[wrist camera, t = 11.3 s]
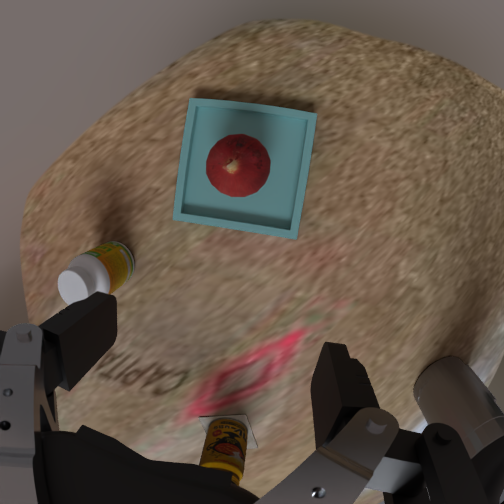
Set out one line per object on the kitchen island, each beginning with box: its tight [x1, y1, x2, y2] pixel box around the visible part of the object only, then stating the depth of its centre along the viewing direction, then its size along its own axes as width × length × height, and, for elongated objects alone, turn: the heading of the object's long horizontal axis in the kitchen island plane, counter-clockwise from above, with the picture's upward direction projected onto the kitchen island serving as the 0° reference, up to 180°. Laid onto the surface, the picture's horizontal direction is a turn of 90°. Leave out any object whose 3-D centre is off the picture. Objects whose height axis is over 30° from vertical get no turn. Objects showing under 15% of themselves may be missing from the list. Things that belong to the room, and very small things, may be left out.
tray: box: [173, 98, 317, 240], centre depth 30 cm, size 13×13×2 cm
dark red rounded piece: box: [206, 134, 271, 197], centre depth 26 cm, size 6×6×8 cm
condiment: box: [198, 415, 258, 486], centre depth 35 cm, size 7×8×12 cm
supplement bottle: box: [58, 241, 134, 305], centre depth 30 cm, size 5×5×10 cm
